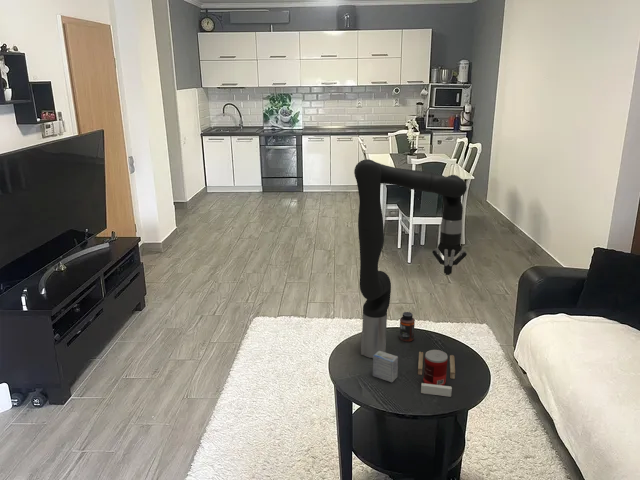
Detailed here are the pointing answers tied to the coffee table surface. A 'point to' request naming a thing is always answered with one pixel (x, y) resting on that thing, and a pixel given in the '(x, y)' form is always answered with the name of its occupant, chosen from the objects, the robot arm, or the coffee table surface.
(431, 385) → the bar
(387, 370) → the medicine box
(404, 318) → the supplement bottle
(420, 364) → the wooden bars
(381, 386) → the coffee table surface
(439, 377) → the canned food
